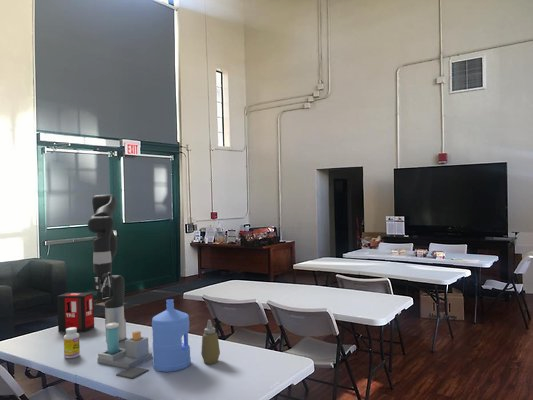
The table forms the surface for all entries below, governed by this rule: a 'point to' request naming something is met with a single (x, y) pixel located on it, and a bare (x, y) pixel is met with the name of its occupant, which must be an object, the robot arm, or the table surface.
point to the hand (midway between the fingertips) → (103, 298)
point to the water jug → (170, 339)
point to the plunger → (136, 336)
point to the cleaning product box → (75, 311)
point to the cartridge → (112, 338)
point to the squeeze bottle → (210, 345)
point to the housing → (127, 354)
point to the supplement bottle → (71, 343)
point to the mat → (132, 372)
